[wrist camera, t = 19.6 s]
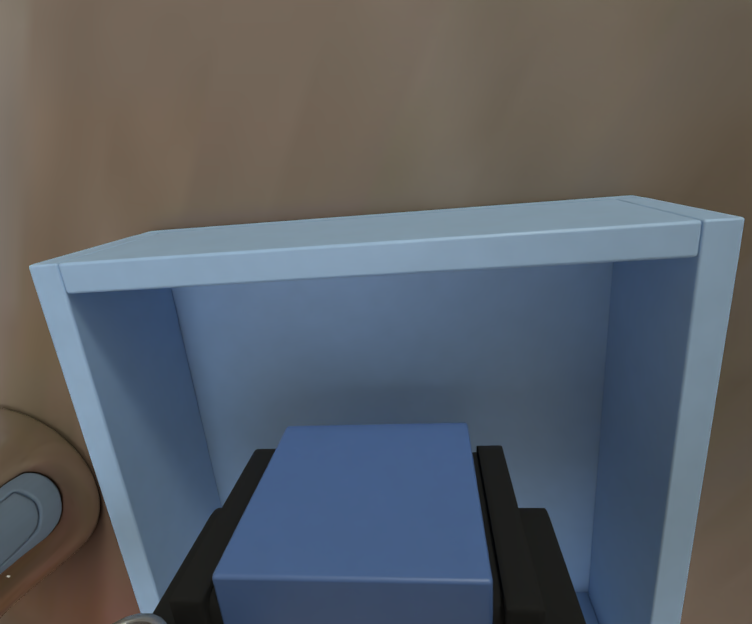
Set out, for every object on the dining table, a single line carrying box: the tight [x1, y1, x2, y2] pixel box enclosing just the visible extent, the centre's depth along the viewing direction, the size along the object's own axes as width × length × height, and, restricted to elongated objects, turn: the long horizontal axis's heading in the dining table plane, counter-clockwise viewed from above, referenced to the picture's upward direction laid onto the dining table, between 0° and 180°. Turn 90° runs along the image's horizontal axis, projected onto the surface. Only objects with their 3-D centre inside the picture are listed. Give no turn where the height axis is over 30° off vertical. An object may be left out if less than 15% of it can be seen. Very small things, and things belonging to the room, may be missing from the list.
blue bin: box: [29, 195, 744, 624], centre depth 12 cm, size 12×12×4 cm
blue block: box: [212, 422, 493, 624], centre depth 9 cm, size 4×4×4 cm
